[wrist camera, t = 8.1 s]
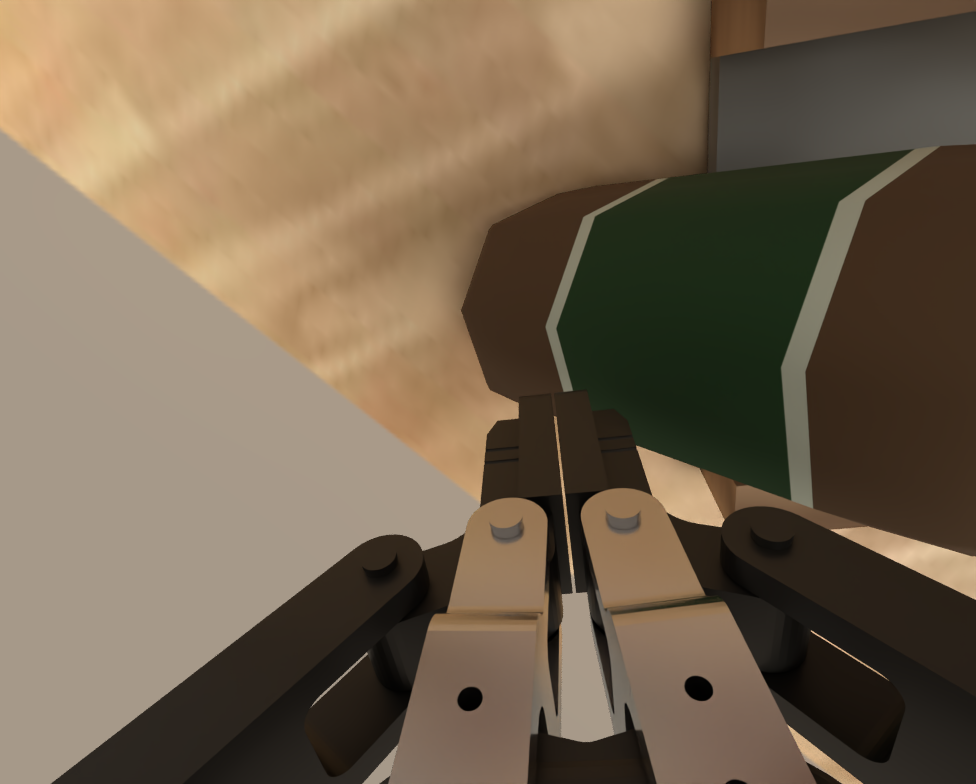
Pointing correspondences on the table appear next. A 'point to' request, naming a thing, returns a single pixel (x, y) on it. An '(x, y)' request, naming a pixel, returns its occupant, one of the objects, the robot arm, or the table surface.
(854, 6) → the cradle
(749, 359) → the beer bottle
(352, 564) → the robot arm
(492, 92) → the table surface
